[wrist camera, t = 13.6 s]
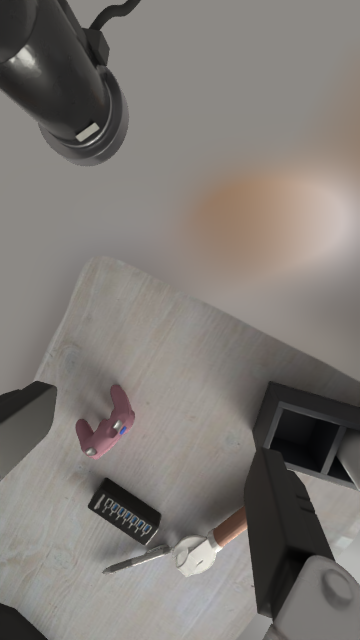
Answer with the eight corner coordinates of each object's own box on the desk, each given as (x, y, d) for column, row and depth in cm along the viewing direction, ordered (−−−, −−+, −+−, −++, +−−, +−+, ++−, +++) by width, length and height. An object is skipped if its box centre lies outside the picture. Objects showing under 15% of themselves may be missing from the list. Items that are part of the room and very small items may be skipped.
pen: (175, 545, 43) (173, 554, 42) (106, 569, 46) (102, 578, 45) (172, 540, 43) (170, 549, 42) (103, 564, 46) (99, 573, 45)
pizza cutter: (260, 467, 40) (265, 482, 37) (289, 495, 40) (296, 512, 37) (167, 543, 43) (164, 562, 40) (194, 568, 43) (192, 589, 40)
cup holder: (269, 380, 37) (279, 400, 31) (384, 414, 35) (416, 441, 30) (251, 431, 38) (258, 459, 32) (361, 466, 37) (387, 500, 31)
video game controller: (98, 431, 43) (95, 472, 37) (74, 420, 41) (66, 462, 35) (138, 392, 41) (141, 429, 35) (114, 379, 39) (113, 416, 33)
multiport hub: (148, 533, 43) (145, 547, 41) (93, 495, 44) (86, 507, 42) (162, 515, 43) (159, 528, 40) (105, 476, 43) (99, 487, 41)
